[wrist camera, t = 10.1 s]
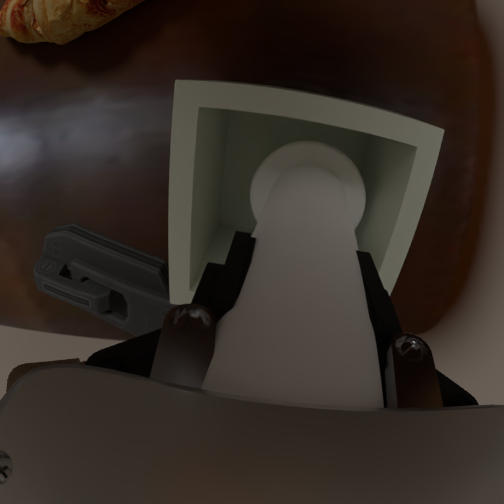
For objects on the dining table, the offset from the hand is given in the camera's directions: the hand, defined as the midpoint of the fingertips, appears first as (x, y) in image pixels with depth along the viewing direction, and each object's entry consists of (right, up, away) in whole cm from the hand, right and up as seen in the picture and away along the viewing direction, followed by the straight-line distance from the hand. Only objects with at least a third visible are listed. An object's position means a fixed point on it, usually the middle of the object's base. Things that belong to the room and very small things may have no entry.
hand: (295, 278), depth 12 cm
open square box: (+1, +7, +12) cm, 14 cm away
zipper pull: (-11, -2, +20) cm, 23 cm away
